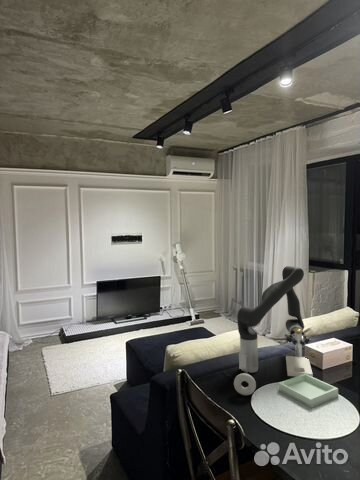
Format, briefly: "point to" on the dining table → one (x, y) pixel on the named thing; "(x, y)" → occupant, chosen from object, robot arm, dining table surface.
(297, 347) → the pin
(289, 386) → the tray
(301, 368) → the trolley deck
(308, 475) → the dining table surface
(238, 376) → the donut
